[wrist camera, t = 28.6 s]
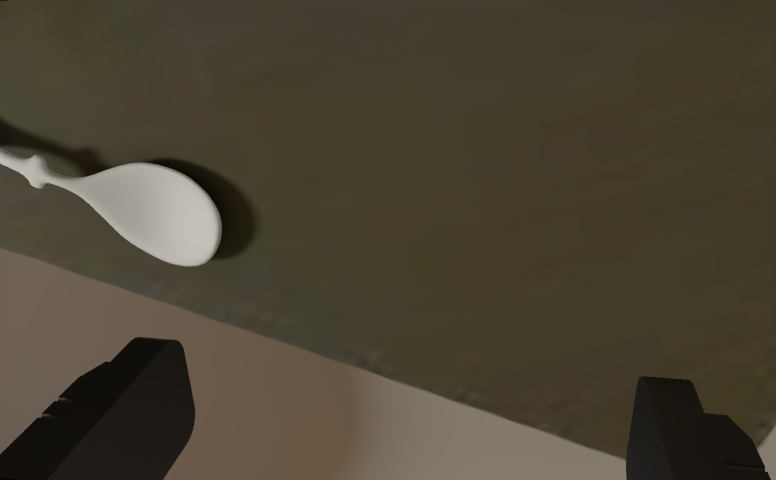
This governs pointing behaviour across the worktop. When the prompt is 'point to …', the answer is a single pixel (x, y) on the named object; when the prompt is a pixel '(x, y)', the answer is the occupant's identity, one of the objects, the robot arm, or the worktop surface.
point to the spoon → (141, 206)
